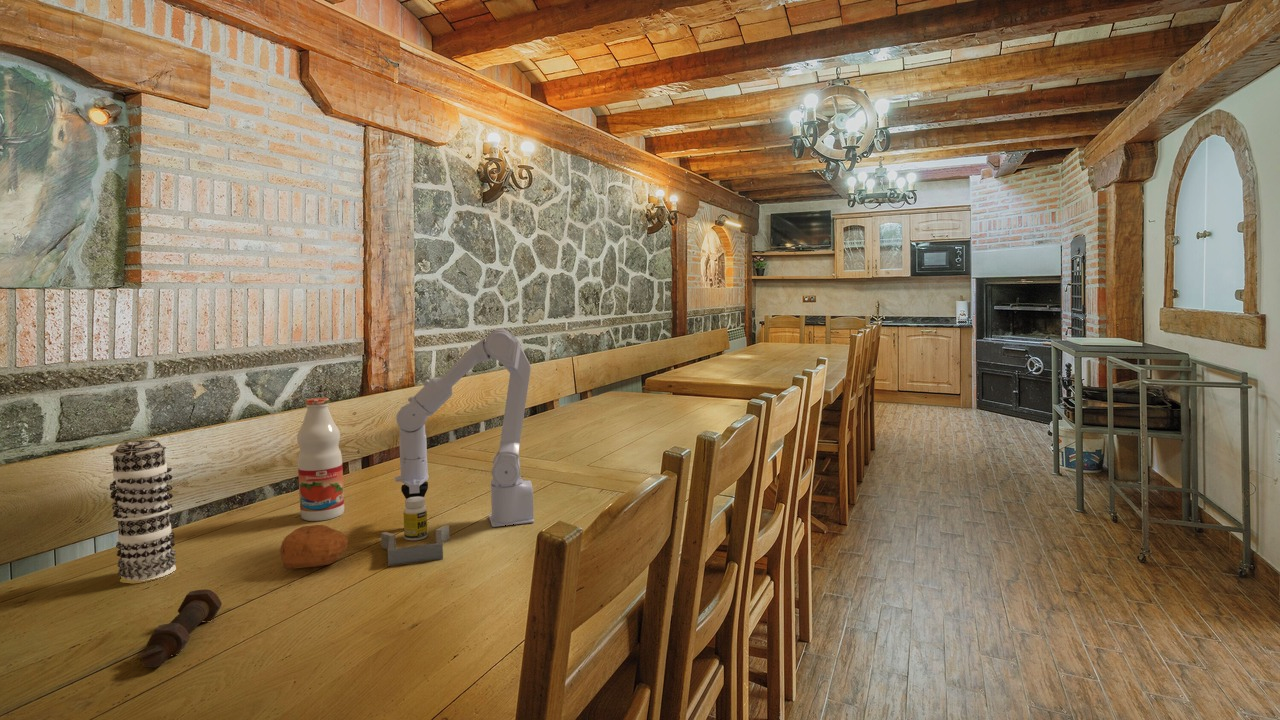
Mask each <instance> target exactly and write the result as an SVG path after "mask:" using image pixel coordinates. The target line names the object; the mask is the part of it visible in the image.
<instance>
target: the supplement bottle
mask: <svg viewBox="0 0 1280 720" xmlns="http://www.w3.org/2000/svg"><path fill="white" fill-rule="evenodd" d="M404 504H405V505H404V507H405V508H404V509H403V535H404V539H405V540H406V541H421V540H423V539H426V538H427V537H428V508H427V506H426V499H425V496H424V497H419V496H418V497H410V498H407V499H406V498H405V499H404Z"/></svg>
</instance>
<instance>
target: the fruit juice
mask: <svg viewBox="0 0 1280 720" xmlns="http://www.w3.org/2000/svg"><path fill="white" fill-rule="evenodd" d="M329 406H330V398H328V397H313V398H312V397H311V398H307V399H305V407H306V413H305V416H304V419H303V422H302V424H301V427H300V429H299V430H298V432H297V436H296V440H297V444H298V447H299V453H298V455H297V456H298V457H297V473H298V487H299V488H298V489H299V490H298V491H299V493H298V494H299V508H300V509H299V510H300V516H301V519H302V520H305V521H307V522H320V521H326V520H327V521H328V520H331V519H335V518H337V517H340V516H341V515H343V514H344V511H345V493H344V489H345V487H344V472H343V469H344V468H343V455H342V450H341V449H340V447H339V445H340V442H341V441H340V440H341V431H340V428H339V426H337V425H336V423H335V421H334V418H333V416H332V414H331V412H330V409H329Z"/></svg>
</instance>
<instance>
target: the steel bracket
mask: <svg viewBox="0 0 1280 720" xmlns="http://www.w3.org/2000/svg"><path fill="white" fill-rule="evenodd" d="M380 539H381V541H380V542H381V548H382V549H386V550H387V564H388V566H387V567H393V566H400V565H407V564H408V565H409V564H416V563H423V562H424V563H425V562H431V561H439V560H444V550H443V547H444V545H443V543H445V542H447V541H449V540H450V525H449V524H448V525H447V524H444V525H442V526H441V527H438V528H437V529H435V543H428V544H427V543H426V544H420V545H412V546H401V547H396V546H397V544H396V543H397V541H396V539H397V538H396V534H394V533H390V532H387V531H384V532H381V533H380Z"/></svg>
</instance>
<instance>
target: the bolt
mask: <svg viewBox="0 0 1280 720" xmlns="http://www.w3.org/2000/svg"><path fill="white" fill-rule="evenodd" d="M222 604H223V603H222V601H221V600H220V598H219V596H218V595H217V594H216V593H215V592H214V591H213V590H212V589H206V588H205V589H197V590H196V589H195V590H191V591H189V592H188V593H187V594H186V595H185V597H184V599H183V600H182V602H181V604H180V606H179V607H178V609H177V612H178V613H179V614H177V615H176V616H175V617H174V618H173V619H172V620H171V622H169V623H165V624H159V625H158V627H156V628H155V629H154V631H153V632H152V634H151V635H150V637H149V639H148V641H147V644H146V646H145V648H143V650H142V651H141V652H140V656H139V658H140V663H141V664H142V665H143V666H144V667H148V668H158V667H160V666H161V665H163V664H165V662H167V660H168V659H169V658H170V656H171V655H176V654H179V655H180V653H181V652H182V651H183V650H184V649H185V647H186V645H187V643H188V642H189V640H190V637H191V636H190V635H191V633H192V632H193V631H194V630H195V629H196V628H197V627H198V626H199V625H200V624H202V623H201V622H202V621H211V620H212V619H213V618H214V619H215V618H216V616H217V614H218V613H219V610H220V609H221V607H222ZM214 619H213V620H214ZM213 620H212V621H213ZM212 621H211V622H212ZM182 649H183V650H182ZM181 650H182V651H181ZM176 656H177V655H176Z"/></svg>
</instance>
